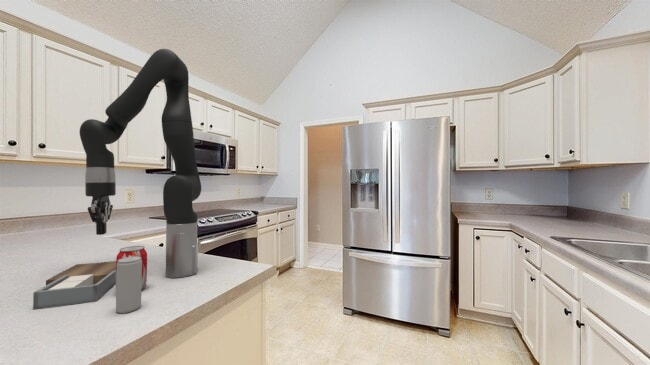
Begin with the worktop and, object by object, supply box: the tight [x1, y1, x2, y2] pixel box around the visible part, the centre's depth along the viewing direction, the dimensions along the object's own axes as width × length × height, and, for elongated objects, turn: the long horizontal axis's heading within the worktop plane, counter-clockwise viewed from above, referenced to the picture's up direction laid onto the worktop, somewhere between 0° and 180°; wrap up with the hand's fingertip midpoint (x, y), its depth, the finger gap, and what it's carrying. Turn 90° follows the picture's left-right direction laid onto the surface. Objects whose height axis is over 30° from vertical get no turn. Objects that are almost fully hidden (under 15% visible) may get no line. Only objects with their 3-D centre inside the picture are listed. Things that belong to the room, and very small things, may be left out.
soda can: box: [115, 245, 148, 291], centre depth 72 cm, size 7×7×12 cm
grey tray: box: [32, 270, 116, 310], centre depth 69 cm, size 12×13×4 cm
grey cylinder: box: [115, 256, 142, 314], centre depth 61 cm, size 5×5×12 cm
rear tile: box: [61, 274, 93, 286], centre depth 72 cm, size 5×5×3 cm
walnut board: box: [45, 260, 116, 286], centre depth 82 cm, size 16×16×3 cm
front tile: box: [48, 281, 84, 290], centre depth 67 cm, size 5×5×3 cm
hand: (101, 234), depth 84 cm, fingers closed
